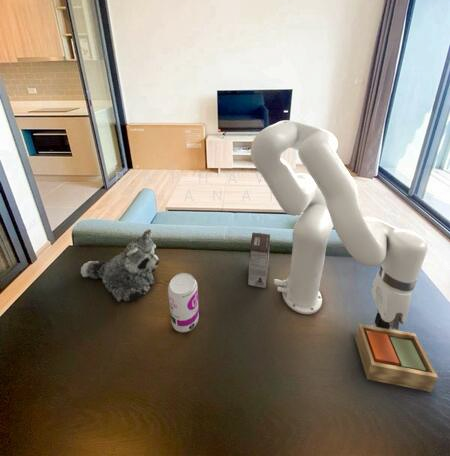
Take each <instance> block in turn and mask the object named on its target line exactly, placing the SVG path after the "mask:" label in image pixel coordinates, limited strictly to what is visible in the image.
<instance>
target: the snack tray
mask: <svg viewBox="0 0 450 456" xmlns="http://www.w3.org/2000/svg"><path fill="white" fill-rule="evenodd" d="M354 339H355V340H354V341H355V343H356V346H357V349H358V353H359V356H360V359H361V363H362V367H363V370H364V373H365V376H366V380H369V381H375V382H381V383H385V384H390V385H394V386H400V387H404V388H408V389H409V388H410V389H415V390H420V391H424V392H430V393H431V392H432V391H433V389H434V387H435V385H436V383H437V381H438V379H439V377H438V374H437V373H436V371H435V369H434V367H433V365H432V363H431V361H430V360H429V358H428V356H427V354H426V352H425V349H424V348H423V345H422V344H421V342H420V340H419V339H418V336H417V334H416V333H415V332H410V331H403V330H399V329H398V330H395V329H392V328H390V329H386V328H380V327H376V326H374V325H368V324H362V323H359V324H358V325H357V328H356V332H355V335H354Z"/></svg>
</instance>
